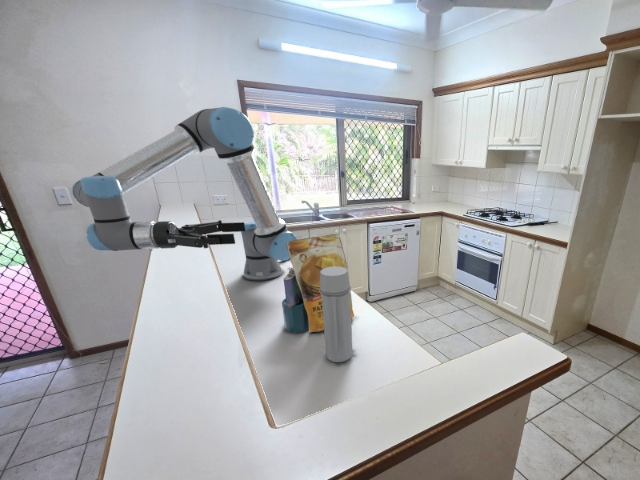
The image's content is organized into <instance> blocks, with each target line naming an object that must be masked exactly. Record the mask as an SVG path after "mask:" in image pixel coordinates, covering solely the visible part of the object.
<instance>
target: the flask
mask: <svg viewBox="0 0 640 480" xmlns="http://www.w3.org/2000/svg"><path fill="white" fill-rule="evenodd" d="M287 271H288V273H287V274H286V275H285V276H284V277H283V286H284V294H285V298H286V305H287V307H288V306H289V307H291V308H292V307H293V306H295V305H296V304H297V303H298V302H299V300H301V298H303V296H302V293H301V290H300V288H299V285H298V283H297V280H296V276H295V273H294V269H293V267H288V268H287Z"/></svg>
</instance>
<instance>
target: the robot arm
mask: <svg viewBox="0 0 640 480" xmlns="http://www.w3.org/2000/svg"><path fill="white" fill-rule="evenodd" d="M254 137H255V131H254V128H253V125H252V122H251V121H250V119H249V118H248V116H246V115H245V114H244V113H243V112H241V111H240V110H239V109H236V108H233V107H227V106H226V107H225V106H219V107H214V108H204V109H201V110H199V111H197V112H195V113H194V114H193V115H191V116H189V117H188V118H186V119H184V120H183V121H181V122H180V123H177V124H176V125H174V130H173V131H172V132H170V133H169V132H168V133H167V134H166V135H164V136H162V137H160V138H159V139H156V140H155V141H153V142H151V143H149V144H148V145H145V146H144V147H142V148H141V149H138V150H136V151H135V152H132V154H129V155H127V156H126V157H124V158H122V159H120V160H118V161H116V162H114V163H113V164H111V165H109V166H108V167H106V168H104V169H102V170H100V171H99V172H97V173H95V174H93V175H90V176H83V177H82V178H80V179H79V180H77V181H75V182H74V183H73V184H72V186H71V194H72V196H73V197H74V199H75V200H76V202H77V203H79V204H81V205H83V206H84V207H86V208H89V210H90V213H91V216H92V218H93V223H91V224H89V225H88V226H87V227H86V231H85V233H86V240H87V243H88V244H89V246H91V247H92V248H93V249H95V250H97V251H107V252H108V251H109V252H110V251H111V252H118V251H132V250H134V251H135V250H148V251H149V252H151V251H153V250H155V249H176V247H178V246H180V247H187V248H188V247H190V248H198V249H202V248H203V249H209V246H214V245H215V246H217V245H218V246H219V245H235V244H236V239H235V233H238V232H240V234H241V238H242V242H243V249H244V256H245V263H244V269H243V276H244V279H246V280H249V281H253V282H255V281H257V282H258V281H269V280H273V279H275V278H278V277H279V276H281V275H282V273H283V271H282V267H281V263H284V262H286V261H288V260H290V258H289V254H288V250H287V246H286V244H288V243H289V242H290V241H294V240H298V238H297V236H296V235H295V234H294V233H293V232H291V231H289V229H288V227H287V225H286V221H284V219H281V218H280V217H279V216H278V214H277V211H276V208H275V205H274V204H273V201H272V199H271V197H270V194H269V192H268V189H267V186H266V185H265V182H264V180H263V177H262V175H261V173H260V170H259V168H258V165H257V163H256V161H255V158H254V152H255V151H256V148H255V146H254V144H253V142H254ZM210 149H214V152H215V153H216V155H217V157H218V159H219V160H221V161H223V162H225V163H226V165H227V167H228V169H229V171H230V173H231V176H232V177H233V180H234V182H235V184H236V186H237V188H238V190H239V192H240V195H241V197H242V199H243V201H244V203H245V205H246V207H247V209H248V211H249V214H250V216H251V218H252V220H253V221H249V222H244V221H241V222H240V221H239V222H238V221H237V222H222V220H221V219H219V220H217V221H212V222H203V223H195V224H193V223H192V224H184V225H182V226H181V227H178V226H177V225H176V224H175V223H174V222H173V221H170V220H169V221H168V220H165V221H164V220H163V221H160V220H159V221H132V219H131V216H130V212H129V210H128V206H127V202H126V199H125V196H124V195H125V194H127V193H128V192H130V191H132V190H133V189H135V188H137V187H138V186H140V185H142V184H143V183H145V182H146V181H149V180H150V179H152V178H153V177H155V176H157V175H158V174H161V172H163V171H165V170H166V169H167V170H168V168H171V166H173V165H175V164H177V163H178V162H180V161H182V160H183V159H185V158H187V157H188V156H190V155H192V154H196V155H198V154H200V153H202V152H204V151H206V150H210ZM219 232H222V233H219Z"/></svg>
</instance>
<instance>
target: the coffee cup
mask: <svg viewBox="0 0 640 480" xmlns="http://www.w3.org/2000/svg"><path fill="white" fill-rule="evenodd" d="M281 305H282V306H281V308H282V315H283V322H284V329H285V331H286V332H288V333H292V334H299V333H304V332H306V331H309V318H308V314H307V311H306V309H305V306H304V301H303V298H301V300H299V302H298V303H297V304H296V305H295V306H293V307H292V308H291V307H289V306H288V307H287V305H286V297H285V298H284V299H283V300H282V301H281Z"/></svg>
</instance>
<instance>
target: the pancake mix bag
mask: <svg viewBox="0 0 640 480" xmlns="http://www.w3.org/2000/svg"><path fill="white" fill-rule="evenodd" d="M286 246H287V250H288V254H289V258H290V259H289V261H290V264H291V266H292V268H293V269H294V273H295V276H296V280H297V283H298V285H299V288H300V290H301V293H302V296H303V301H304V306H305V309H306V311H307V314H308V318H309V329H308V333H313V332H315V333H316V332H323V331H324V320H323V307H322V295H321V294H320V292H319V289H320V271H321V270H322V269H324V268H327V267H334V266H336V267H343V268H346V269H347V271H348V272H349V269H348V262H347V258H346V254H345V251H344V247H343V243H342V239H341V236H338V235H337V234H336V233H332V234H326V235H321V236H311V237H305V238H299V239H298V238H297V240H294V241H290V242H289V243H288V244H286ZM348 278H349V279H350V274H349V273H348ZM350 283H351V282H350V281H349V285H350V286H351V284H350ZM321 292H322V291H321ZM352 298H353V297H352V291H351V292H350V301H351V321H352V320H353V318H355V313H354V310H353V299H352Z"/></svg>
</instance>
